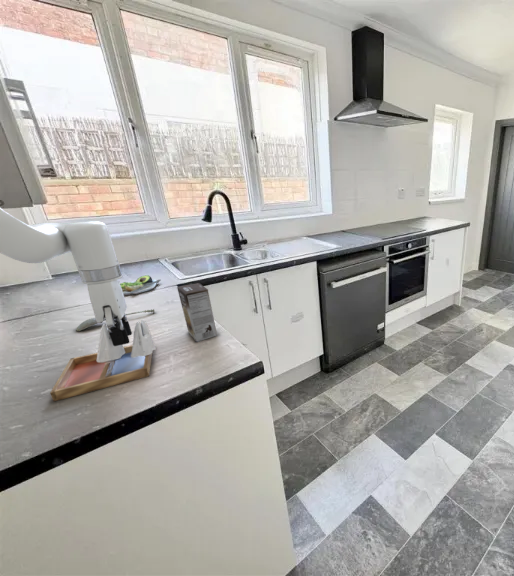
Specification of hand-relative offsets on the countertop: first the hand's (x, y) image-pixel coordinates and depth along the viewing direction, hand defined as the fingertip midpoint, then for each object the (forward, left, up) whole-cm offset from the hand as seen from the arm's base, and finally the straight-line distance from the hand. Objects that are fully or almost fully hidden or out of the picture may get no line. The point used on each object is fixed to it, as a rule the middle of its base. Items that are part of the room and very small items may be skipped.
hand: (123, 339), depth 81 cm
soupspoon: (-8, +38, -8) cm, 40 cm away
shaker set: (0, 0, -6) cm, 6 cm away
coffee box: (+17, +10, -8) cm, 22 cm away
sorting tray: (-5, 0, -8) cm, 9 cm away
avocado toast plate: (-6, +77, -8) cm, 78 cm away
